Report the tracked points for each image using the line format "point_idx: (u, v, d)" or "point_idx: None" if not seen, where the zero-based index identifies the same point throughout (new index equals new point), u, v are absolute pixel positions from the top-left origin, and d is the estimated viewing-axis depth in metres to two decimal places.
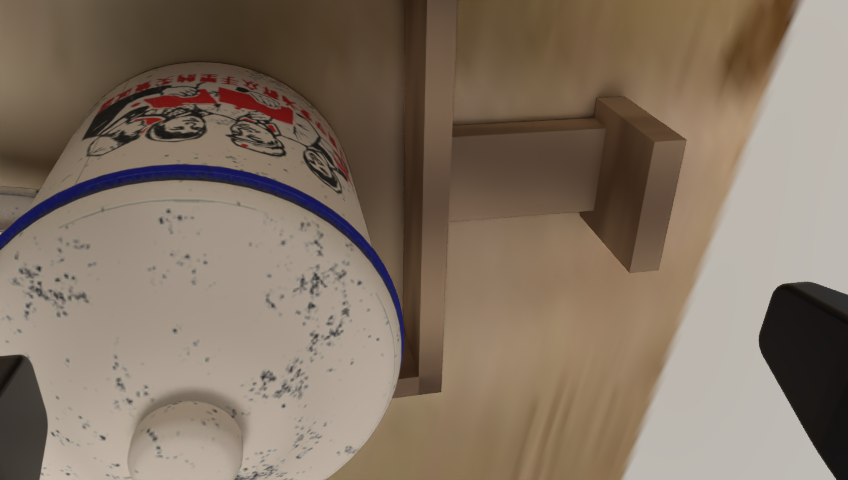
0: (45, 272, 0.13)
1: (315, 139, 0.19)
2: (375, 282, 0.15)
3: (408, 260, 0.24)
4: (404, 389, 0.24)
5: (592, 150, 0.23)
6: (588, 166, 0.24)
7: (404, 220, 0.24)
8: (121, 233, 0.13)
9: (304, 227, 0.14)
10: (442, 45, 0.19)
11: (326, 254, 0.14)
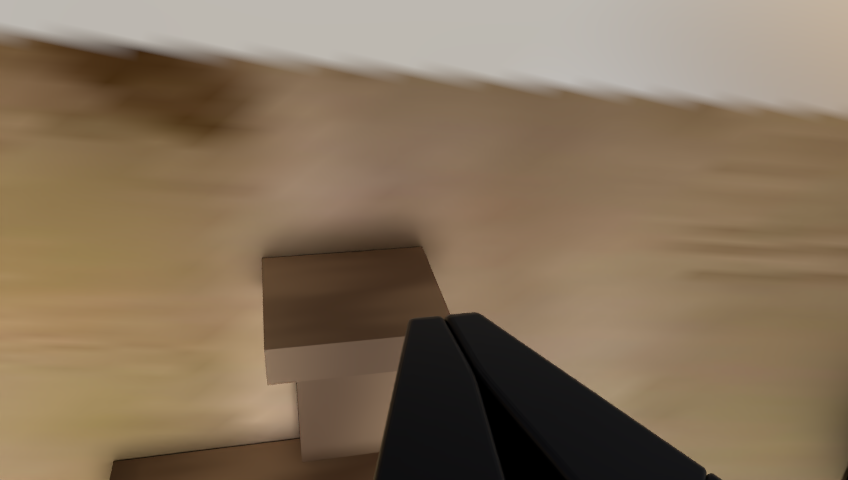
0: None
1: None
2: None
3: None
4: None
5: None
6: None
7: None
8: None
9: None
10: None
11: None
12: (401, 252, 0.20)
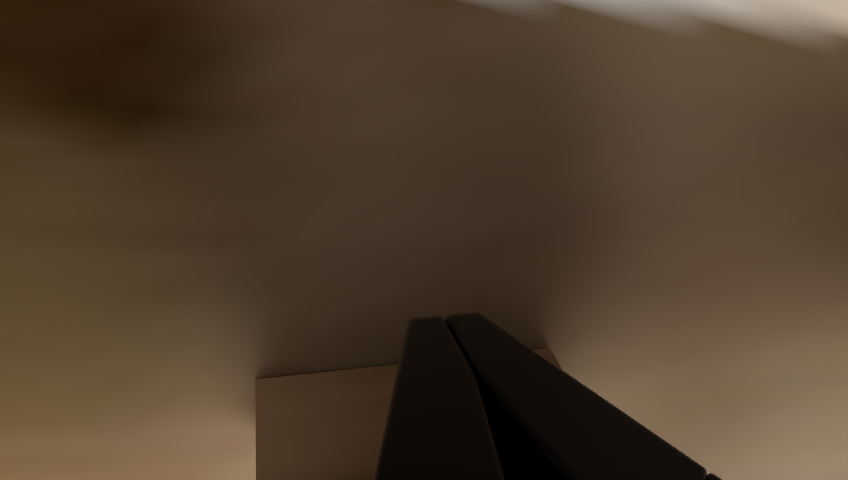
0: None
1: None
2: None
3: None
4: None
5: None
6: None
7: None
8: None
9: None
10: None
11: None
12: None
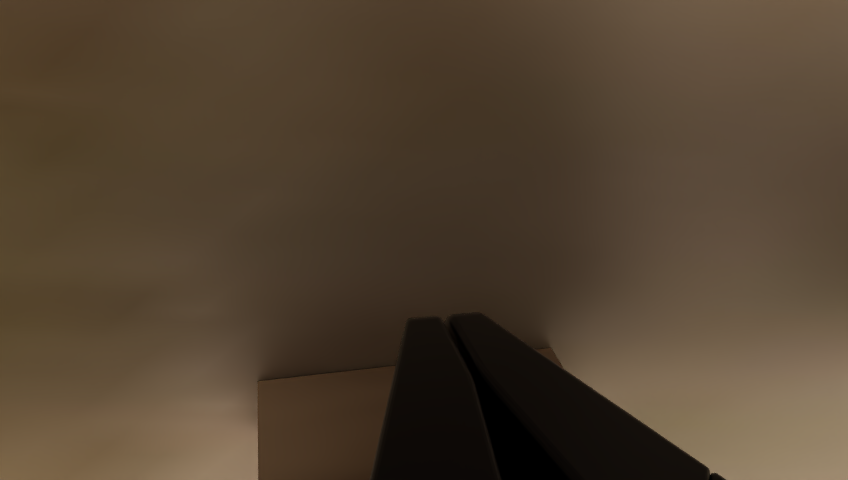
0: None
1: None
2: None
3: None
4: None
5: None
6: None
7: None
8: None
9: None
10: None
11: None
12: None
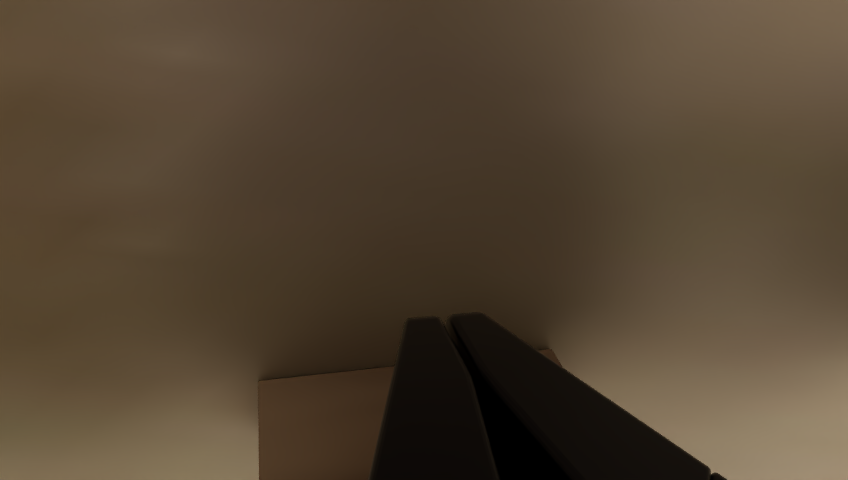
0: None
1: None
2: None
3: None
4: None
5: None
6: None
7: None
8: None
9: None
10: None
11: None
12: None
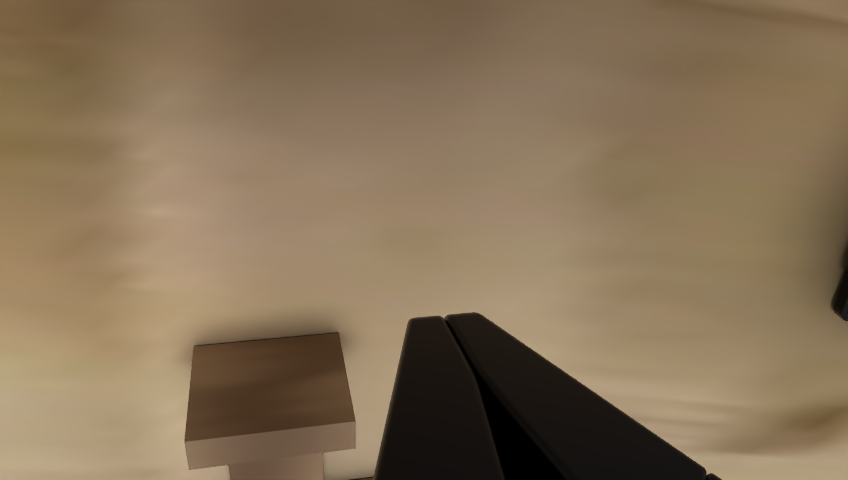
0: None
1: None
2: None
3: None
4: None
5: None
6: None
7: None
8: None
9: None
10: None
11: None
12: (319, 339, 0.22)
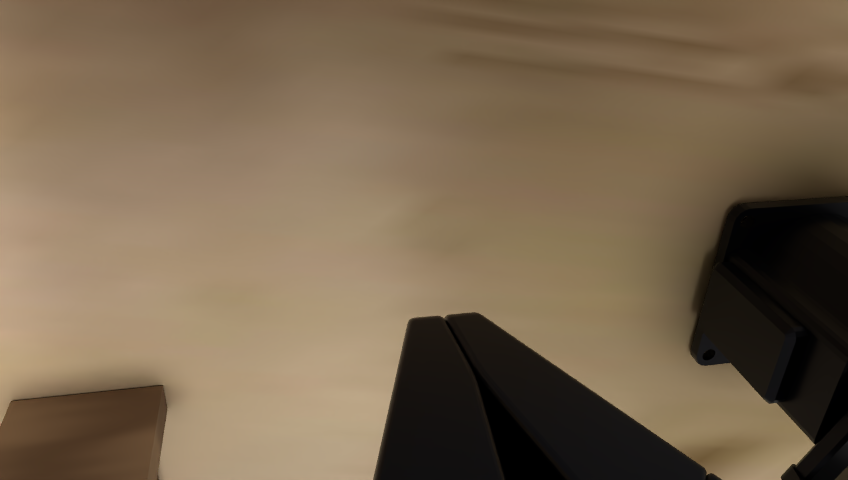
0: None
1: None
2: None
3: None
4: None
5: None
6: None
7: None
8: None
9: None
10: None
11: None
12: (140, 392, 0.22)
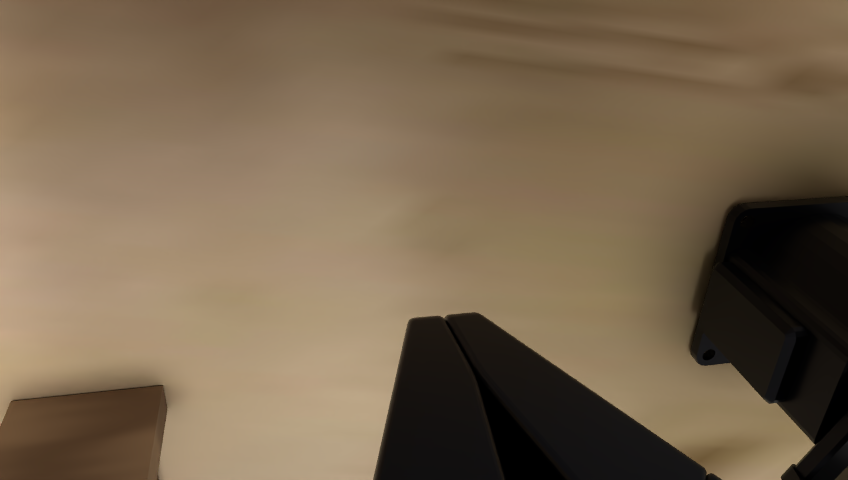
0: None
1: None
2: None
3: None
4: None
5: None
6: None
7: None
8: None
9: None
10: None
11: None
12: (140, 392, 0.22)
